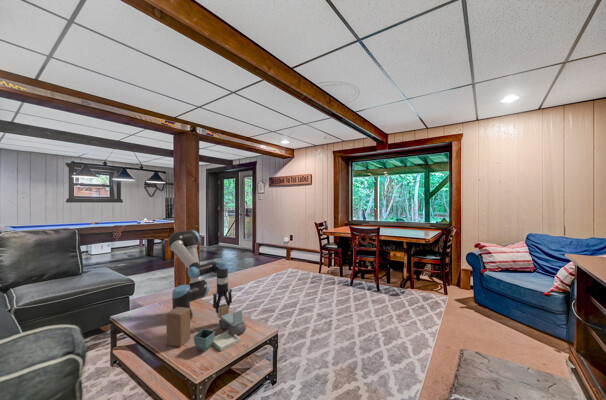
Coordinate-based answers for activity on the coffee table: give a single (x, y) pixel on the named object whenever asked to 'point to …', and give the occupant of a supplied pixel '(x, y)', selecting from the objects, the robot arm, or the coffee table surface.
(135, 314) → the coffee table surface
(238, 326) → the trolley
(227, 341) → the tray
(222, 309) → the block
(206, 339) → the flower pot
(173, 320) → the wooden block
